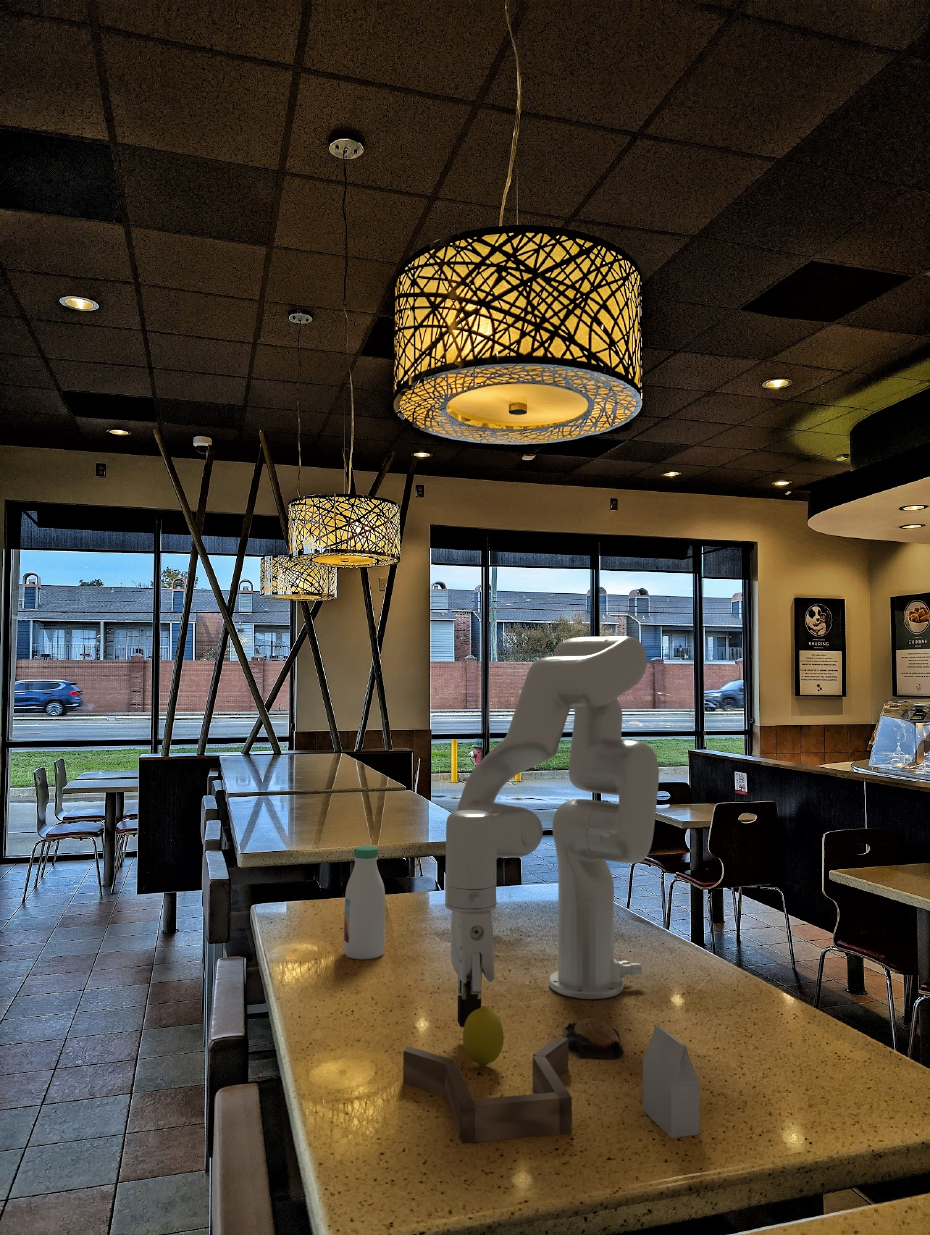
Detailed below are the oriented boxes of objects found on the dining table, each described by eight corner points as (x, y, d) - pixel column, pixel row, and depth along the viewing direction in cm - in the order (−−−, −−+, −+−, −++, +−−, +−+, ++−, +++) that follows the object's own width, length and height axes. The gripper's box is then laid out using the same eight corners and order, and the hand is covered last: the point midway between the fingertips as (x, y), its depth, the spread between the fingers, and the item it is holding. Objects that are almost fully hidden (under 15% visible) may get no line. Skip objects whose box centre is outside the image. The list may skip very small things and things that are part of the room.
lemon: (499, 1078, 114) (500, 1016, 115) (458, 1074, 115) (459, 1012, 116) (506, 1060, 120) (506, 1000, 120) (467, 1056, 121) (467, 997, 121)
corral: (565, 1065, 118) (565, 1035, 118) (610, 1129, 101) (610, 1093, 102) (401, 1078, 114) (402, 1047, 114) (420, 1147, 97) (421, 1110, 97)
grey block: (671, 1138, 100) (670, 1048, 100) (643, 1110, 106) (642, 1026, 107) (699, 1133, 101) (698, 1045, 101) (669, 1106, 107) (669, 1023, 108)
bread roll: (559, 1033, 130) (559, 1008, 131) (614, 1033, 131) (614, 1007, 131) (569, 1064, 120) (569, 1036, 120) (630, 1063, 120) (629, 1036, 120)
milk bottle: (391, 951, 167) (393, 845, 168) (371, 963, 160) (373, 852, 161) (357, 945, 170) (359, 842, 172) (335, 957, 163) (337, 849, 165)
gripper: (507, 908, 121) (506, 1044, 120) (484, 883, 136) (483, 1004, 134) (454, 910, 120) (452, 1047, 118) (437, 885, 134) (435, 1007, 133)
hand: (469, 1024), depth 126 cm, fingers closed
